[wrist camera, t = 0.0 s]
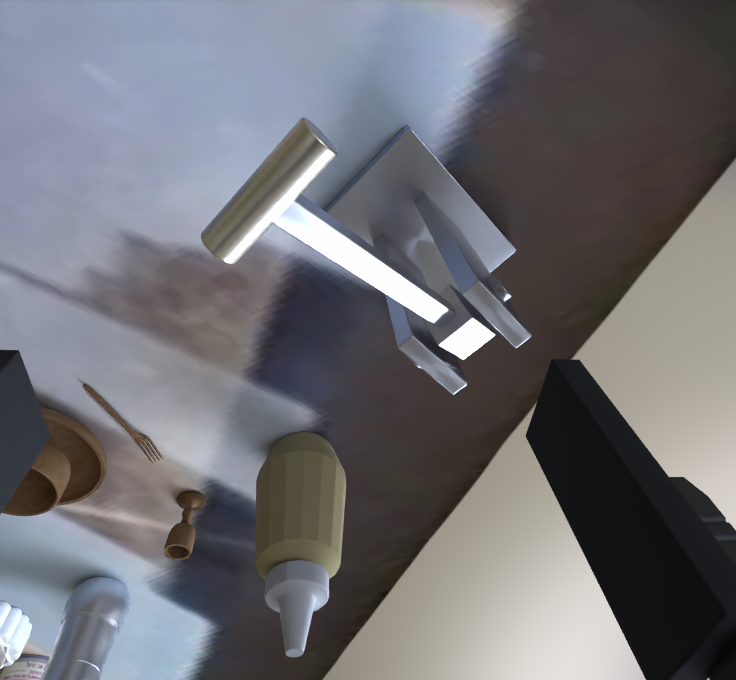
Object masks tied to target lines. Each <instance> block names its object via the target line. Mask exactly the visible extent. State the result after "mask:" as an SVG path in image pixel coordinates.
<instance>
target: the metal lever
mask: <svg viewBox="0 0 736 680" xmlns="http://www.w3.org/2000/svg"><path fill="white" fill-rule="evenodd" d="M336 155H337V150H336V148H335V147H334V145H333V144H332V143H331V142H330V140H329V139H328V138H327V137H326V136H325V135H324V134H323V133H322V131H321V130H320V129H319V128H318V127H316V126H315V125H314V124H313V123H312V122H311V121H310V120H308V119H307V118H304V117H303V118H301V119H300V120H299V122H298V123H297V124H296V125H295V126H294V127H293V128H292V130H291V131H290V132H289V133H288V134H287V135H286V136H285V138H284V139H283V140H282V141H281V142H280V143H279V145H278V146H277V147H276V148H275V149H274V150H273V151H272V153H271V154H270V155H269V156H268V157H267V158H266V159H265V161H264V162H263V163H262V164H261V165H260V166H259V167H258V169H257V170H256V171H255V172H254V173H253V174H252V175H251V177H250V178H249V179H248V180H247V181H246V182H245V184H244V185H243V186H242V187H241V188H240V189H239V190H238V192H237V193H236V194H235V195H234V196H233V197H232V198H231V200H230V201H229V202H228V203H227V204H226V205H225V206H224V208H223V209H222V210H221V211H220V212H219V213H218V215H217V216H216V217H215V218H214V219H213V220H212V221H211V223H210V224H209V225H208V226H207V227H206V228H205V229H204V231H203V232H202V234H201V239H202V242H203V244H204V245H205V247H206V248H207V249H208V250H209V251H210V252H211V253H212V254H213V255H214V256H215V257H217V258H218V259H220V260H221V261H223V262H225V263H229V264H234V263H237V261H238V260H239V259H240V258H241V257H242V256H243V255H244V254H245V253H246V252H247V251H248V250H249V249H250V248H251V246H252V245H253V244H254V243H255V242H256V241H257V240H258V239H259V238H260V237H261V236H262V235H263V234H264V233H265V231H266V230H267V229H268V228H269V227H270V226H271V225H272V224H274V225H276V226H277V227H279V228H281V229H282V230H284V231H285V232H287V233H289V234H290V235H292V236H293V237H295V238H297V239H298V240H300V241H301V242H303V243H305V244H306V245H308V246H309V247H311V248H313V249H314V250H316V251H317V252H319V253H321V254H322V255H324V256H325V257H327V258H329V259H330V260H332V261H333V262H335V263H337V264H338V265H340V266H341V267H343V268H345V269H346V270H348V271H349V272H351V273H353V274H354V275H356V276H357V277H359V278H361V279H362V280H364V281H365V282H367V283H369V284H370V285H372V286H373V287H375V288H377V289H378V290H380V291H381V292H383V293H384V294H386V295H388V296H389V297H391V298H392V299H394V300H396V301H397V302H399V303H400V304H402V305H404V306H405V307H407V308H408V309H410V310H412V311H413V312H415V313H416V314H418V315H419V316H420V317H421V319H422V321H423V322H424V324H425V325H426V327H427V329H428V330H429V332H430V334H431V335H432V337H433V339H434V340H435V342H436V344H437V345H438V346H440V347H441V348H443V349H445V350H447V351H448V352H450V353H452V354H454V355H455V356H457V357H459V358H461V359H462V360H464V359H465V358H466V357H468V356H469V355H470V354H471V353H473V352H474V351H475V350H477V349H478V348H479V347H481V346H482V345H483V344H484V343H486V342H487V341H488V340H490V339H491V338H492V337H493V336H495V332H494V331H493V330H492V328H491V327H490V325H489V324H488V323H487V321H486V320H485V318H484V317H483V316H482V314H481V313H480V312H479V311H478V310H477V309H476V308H475V307H474V306H473V305H472V304H471V303H470V302H469V301H468V300H467V299H466V298H465V297H464V296H463V295H462V294H461V293H460V292H459V291H458V290H456V289H455V288H454V287H453V286H451V285H448V286H447V287H446V288H444V289H443V290H442V291H441V292H440V293H439V294H438V293H436V292H435V291H433V290H432V289H431V288H429V287H428V286H427V285H425V284H424V283H422V282H421V281H420V280H418V279H417V278H416V277H414V276H413V275H412V274H410V273H409V272H407V271H406V270H405V269H403V268H402V267H401V266H399V265H398V264H396V263H395V262H394V261H392V260H391V259H390V258H388V257H387V256H386V255H384V254H383V253H381V252H380V251H379V250H377V249H376V248H375V247H373V246H372V245H370V244H369V243H368V242H366V241H365V240H364V239H362V238H361V237H360V236H358V235H357V234H355V233H354V232H353V231H351V230H350V229H349V228H347V227H346V226H344V225H343V224H342V223H340V222H339V221H338V220H336V219H335V218H333V217H332V216H331V215H329V214H328V213H327V212H325V211H324V210H323V209H321V208H320V207H318V206H317V205H316V204H314V203H313V202H312V201H310V200H309V199H307V198H306V197H305V196H303V195H302V194H301V193H302V192H303V191H304V190H305V189H306V188H307V186H308V185H309V184H310V183H311V182H312V181H313V180H314V179H315V178H316V177H317V176H318V175H319V174H320V173H321V171H322V170H323V169H324V168H325V167H326V166H327V165H328V164H329V163H330V162H331V161H332V160H333V159H334V158H335V156H336Z"/></svg>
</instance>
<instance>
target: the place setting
mask: <svg viewBox="0 0 736 680" xmlns="http://www.w3.org/2000/svg"><path fill="white" fill-rule="evenodd" d="M83 387H84V388H85V389H86V390H87V391H88V392H89V394H90V395H91V396H92V397H93V398H94V399H95V400H96V401H97V402H98V403H99V404H100V405H101V406H102V407H103V408H104V409H105V410H106V411H107V412H108V413H109V414H110V415H111V416H113V417H114V418H115V419H116V420H117V421H118V422H119V423H120V424H121V425H122V426H123V427H124V428H125V429H126V430H127V431H128V432H129V433H130V434H131V435H132V436H133V437H135V441H136V442H137V444H138V445H139V446H140V448H141V449H142V450H143V452H144V453H145V454H146V456H147V457H148V459H149V460H150V461H151V462H152V460H151V459H150V457H149V456H148V454H147V453H146V451H145V450H144V448H143V447H142V446H141V444H140V443H139V442H141V443H142V444H143V446H144V447H145V448H146V450H147V451H148V453H149V454H150V455H151V457H152V458H153V459H154V460H155V458H154V457H153V455H152V454H151V452H150V451H149V449H148V448H147V446H146V445H145V444H144V442H143V441H142V440H144V441H145V442H146V444H147V445H148V446H149V448H150V449H151V451H152V452H153V453H154V455H155V456H156V457H157V459H158V460H159V458H158V456H157V455H156V453H155V452H154V450H153V449H152V447H151V446H150V444H149V443H148V442H147V440H146V439H148V440H149V442H150V443H151V444H152V446H153V447H154V449H155V450H156V451H157V453H158V454H159V456H160V457H161V458H162V456H161V454H160V453H159V451H158V450H157V448H156V447H155V445H154V444H153V442H152V441H151V440H150V439H149V438H148V437H147V436H145V435H142V434H137V433H136V432H135V431H134V430H133V429H132V428H131V427H130V426H129V425H128V424H127V423H126V422H125V421H124V420H123V419H122V418H121V417H120V416H119V415H118V414H117V413H116V412H115V411H114V410H113V409H112V408H111V407H110V406H109V405H108V404H107V403H106V402H105V401H104V400H103V399H102V398H101V397H100V396H99V395H98V394H97V393H96V392H95V391H94V390H93V389H92V388H90V387H89V386H88V385H86V384H84V385H83ZM40 408H41V411H42V414H43V416H44V419H45V422H46V424H47V427H48V430H49V432H50V435H51V437H50V439H49V440H48V442H47V443H46V445H45V446H44V448H43V449H42V451H41V452H40V454H39V456H38V457H37V459H36V460H35V462H34V463H33V465H32V466H31V468H30V469H29V471H28V472H27V474H26V475H25V477H24V479H23V480H22V482H21V483H20V485H19V486H18V488H17V489H16V491H15V492H14V494H13V495H12V497H11V499H10V500H9V502H8V503H7V505H6V506H5V508H4V509H3V511H2V512H1V513H5V514H9V515H15V516H33V515H39V514H42V513H45V512H47V511H49V510H51V509H52V508H54V507H55V506H56V505H65V504H70V503H74V502H77V501H80V500H82V499H84V498H86V497H88V496H90V495H91V494H92V493H94V492H95V491H96V490H97V489H98V488H99V486H100V485H101V483H102V481H103V479H104V476H105V473H106V468H107V460H106V455H105V452H104V449H103V447H102V445H101V444H100V442H99V440H98V439H97V438H96V436H95V435H94V434H93V433H92V432H91V431H90V430H89V429H88V428H87V427H85V426H84V425H83V424H81V423H80V422H78V421H77V420H75V419H74V418H72V417H70V416H68V415H66V414H64V413H61V412H59V411H56V410H53V409H50V408H46V407H42V406H40ZM162 459H163V458H162ZM155 461H156V460H155ZM159 461H160V460H159ZM152 463H153V462H152ZM177 503H178V505H179V506H180V507H182V508H183V509H184V510H183V513H182V516H183V519H182V521H181V523H178V524H176V525H175V526H174V527H173V528H172V529H171V531H170V533H169V535H168V538H167V541H166V544H165V548H164V554H165V555H166V556H167V557H168V558H170V559H173V560H184V559H187V558H188V557H189V556H190V555H191V552H192V549H193V544H194V539H195V530H194V527H193V526H192V525H191V524H190V519H191V518H192V517H193V515H194V511H193V510H199V509H201V508H203V507H204V505H205V503H206V499H205V497H204V496H203V495H202V494H200V493H198V492H195V491H186V492H183V493H181V494H180V495H179V496H178V497H177Z"/></svg>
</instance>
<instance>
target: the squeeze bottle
mask: <svg viewBox="0 0 736 680" xmlns="http://www.w3.org/2000/svg"><path fill="white" fill-rule="evenodd" d="M345 493H346V478H345V471H344V469H343V467H342V465H341V463H340V461H339V459H338V457H337V455H336V453H335V451H334V449H333V447H332V446H331V445H330V443H329V442H328V441H327V439H325V438H323V437H321V436H319V435H318V434H314V433H309V432H299V433H292V434H290V435H287V436H285V437H283V438H281V439H280V440H279V441H278V442H277V443H276V444H275V446H274V447H273V449H272V450H271V452H270V454H269V455H268V457H267V459H266V460H265V462H264V464H263V465H262V467H261V469H260V472H259V475H258V478H257V484H256V561H255V564H256V568H257V571H258V574H259V575H260V576H262V577H263V578H264V579H265V580H266V587H265V601H266V604H267V605H268V606H269V607H270V608H272V609H273V610H274V611H277V612H280V617H281V624H282V631H283V638H284V645H285V652H286V655H287V656H289V657H299V656H301V655H302V654H303V653H304V648H305V644H306V639H307V635H308V631H309V626H310V622H311V617H312V613H313V611H316V610H318V609H319V608H321V607H322V606H324V605H325V604H326V602H327V600H328V598H329V579H330V578H331V577H332V576H334V575H335V574H336V572H337V570H338V568H339V567H340V563H341V549H342V535H343V521H344V507H345Z"/></svg>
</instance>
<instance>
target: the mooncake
mask: <svg viewBox="0 0 736 680" xmlns="http://www.w3.org/2000/svg"><path fill="white" fill-rule="evenodd" d="M31 629H32V625H31V624H30V623H29V618H28V617H27V616H26V615H24V614H22V612H21V610H20V609H18V608H16V607H11V606H10V604H9V603H7V602H4V601H0V669H2V668H3V667H4V666H10V665H11V664H13V662H14V661H15V660H17V659H18V658H19V657H20V655H21V653H22V651H23V648H24V646H25V644H26V642H27V640H28V638H29V636H30V631H31Z"/></svg>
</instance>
